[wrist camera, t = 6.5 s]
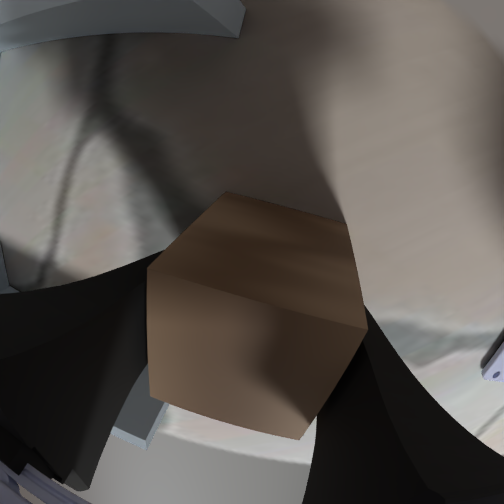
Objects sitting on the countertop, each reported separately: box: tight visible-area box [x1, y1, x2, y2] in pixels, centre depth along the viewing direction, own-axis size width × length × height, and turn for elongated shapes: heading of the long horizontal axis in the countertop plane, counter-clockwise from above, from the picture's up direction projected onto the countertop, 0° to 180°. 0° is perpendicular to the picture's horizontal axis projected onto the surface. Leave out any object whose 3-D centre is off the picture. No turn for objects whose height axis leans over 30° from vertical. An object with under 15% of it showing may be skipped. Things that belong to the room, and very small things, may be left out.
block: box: [147, 192, 368, 440], centre depth 9 cm, size 4×4×6 cm
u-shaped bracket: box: [0, 0, 246, 450], centre depth 11 cm, size 15×18×5 cm
